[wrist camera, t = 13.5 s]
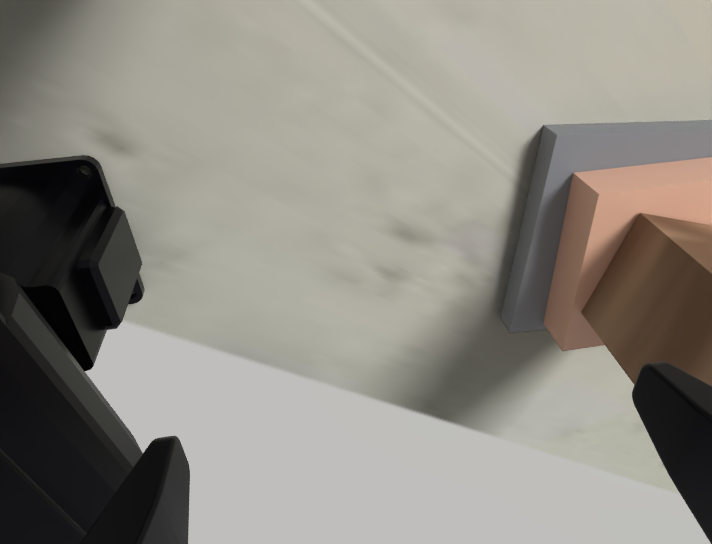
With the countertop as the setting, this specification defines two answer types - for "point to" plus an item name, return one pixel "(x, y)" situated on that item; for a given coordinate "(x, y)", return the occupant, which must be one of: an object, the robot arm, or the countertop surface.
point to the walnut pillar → (658, 298)
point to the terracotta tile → (615, 231)
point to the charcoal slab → (552, 186)
